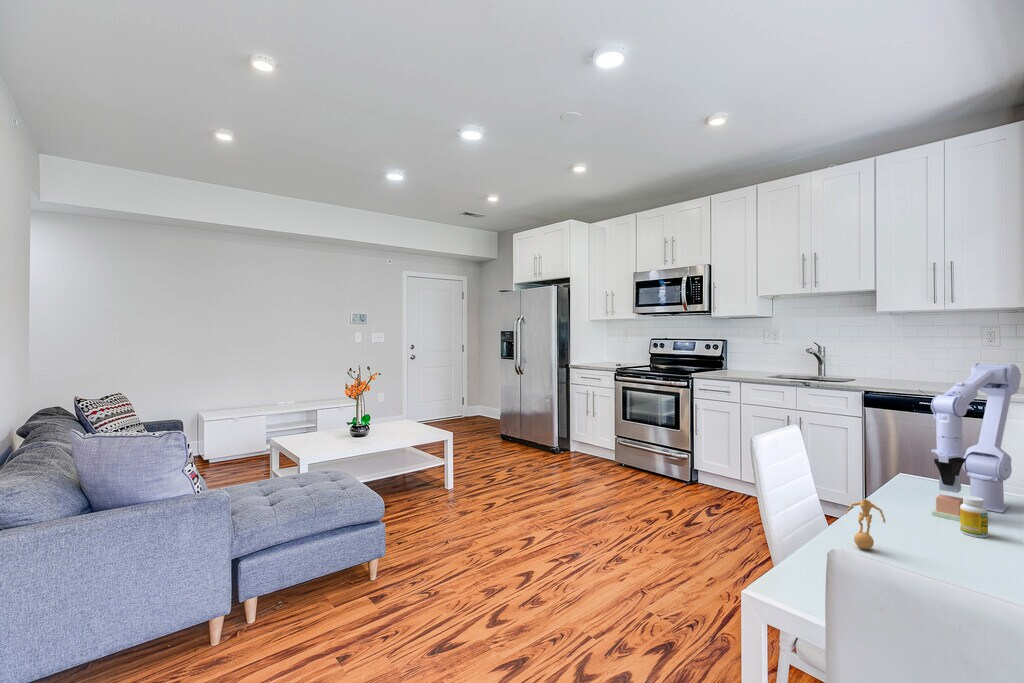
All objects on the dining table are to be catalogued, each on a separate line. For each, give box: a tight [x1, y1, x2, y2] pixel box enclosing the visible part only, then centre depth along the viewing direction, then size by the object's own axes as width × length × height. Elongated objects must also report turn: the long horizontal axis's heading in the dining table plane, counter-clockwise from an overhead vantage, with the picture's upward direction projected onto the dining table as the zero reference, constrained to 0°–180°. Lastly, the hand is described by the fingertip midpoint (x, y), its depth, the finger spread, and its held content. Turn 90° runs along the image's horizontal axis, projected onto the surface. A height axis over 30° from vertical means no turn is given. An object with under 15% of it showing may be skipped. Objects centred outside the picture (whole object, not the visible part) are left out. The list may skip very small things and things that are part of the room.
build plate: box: [931, 508, 960, 522], centre depth 142 cm, size 7×7×1 cm
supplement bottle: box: [959, 495, 989, 539], centre depth 129 cm, size 5×5×10 cm
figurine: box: [845, 498, 886, 550], centre depth 122 cm, size 8×6×12 cm
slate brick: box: [938, 474, 962, 494], centre depth 142 cm, size 4×4×4 cm
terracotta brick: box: [935, 493, 964, 516], centre depth 142 cm, size 5×5×4 cm
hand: (950, 483), depth 142 cm, fingers closed on slate brick, 4 cm apart
